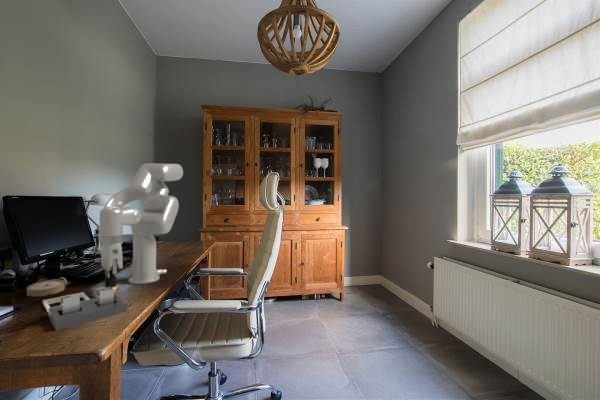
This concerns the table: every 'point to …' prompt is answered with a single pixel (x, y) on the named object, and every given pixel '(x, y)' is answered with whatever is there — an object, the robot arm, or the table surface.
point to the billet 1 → (70, 304)
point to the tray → (58, 299)
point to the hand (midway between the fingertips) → (110, 287)
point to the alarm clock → (46, 287)
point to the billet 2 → (105, 296)
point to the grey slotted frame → (86, 313)
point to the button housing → (117, 292)
